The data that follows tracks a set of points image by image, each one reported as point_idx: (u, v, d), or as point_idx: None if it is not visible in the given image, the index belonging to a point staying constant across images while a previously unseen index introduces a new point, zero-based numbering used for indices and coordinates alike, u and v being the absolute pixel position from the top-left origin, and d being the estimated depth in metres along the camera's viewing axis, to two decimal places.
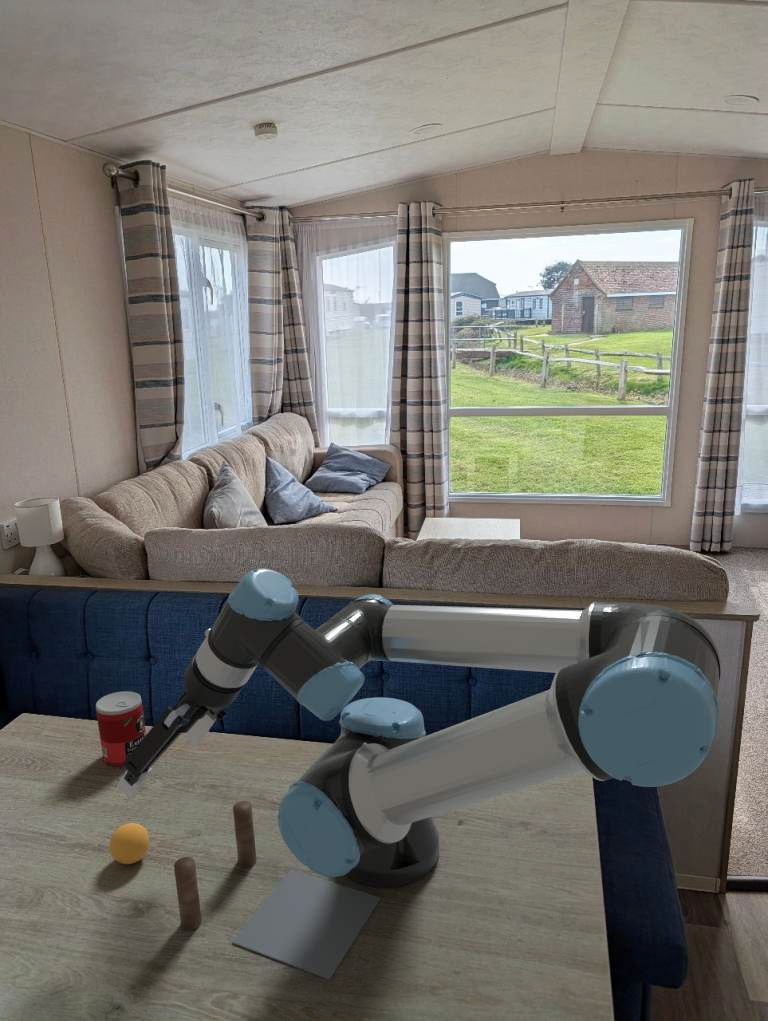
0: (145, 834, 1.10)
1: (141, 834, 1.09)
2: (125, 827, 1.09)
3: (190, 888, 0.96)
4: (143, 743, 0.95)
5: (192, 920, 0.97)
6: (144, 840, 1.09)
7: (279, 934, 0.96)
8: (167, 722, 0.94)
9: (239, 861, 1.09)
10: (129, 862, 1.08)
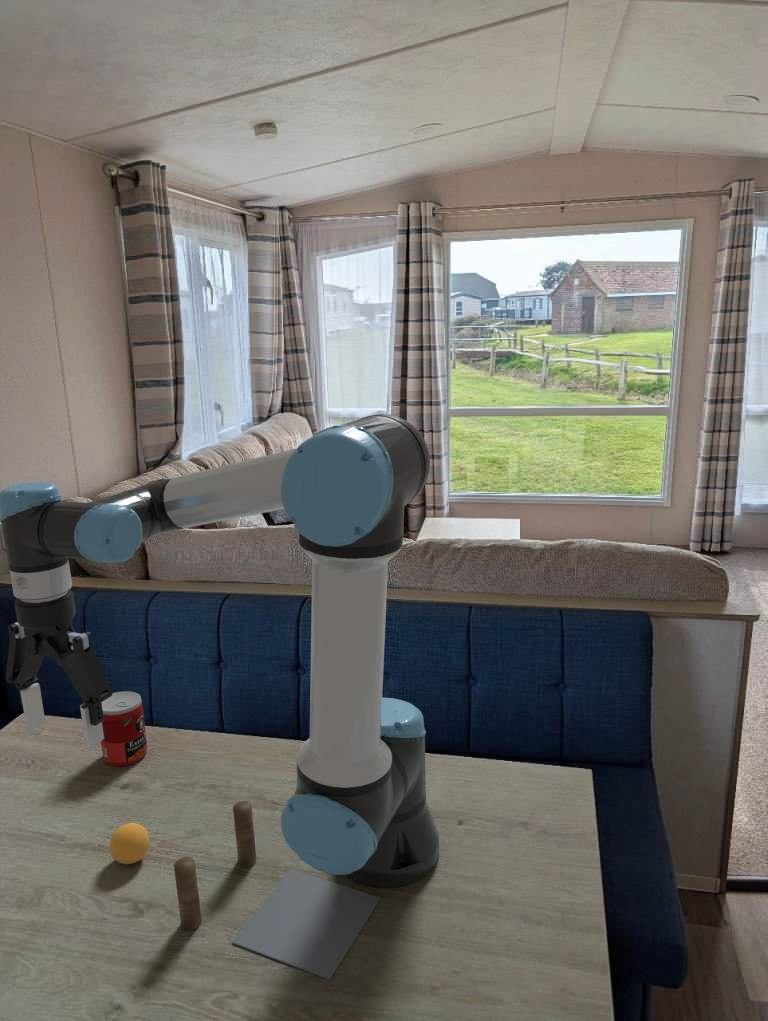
0: (145, 834, 1.10)
1: (141, 834, 1.09)
2: (125, 827, 1.09)
3: (190, 888, 0.96)
4: (91, 675, 1.04)
5: (192, 920, 0.97)
6: (144, 840, 1.09)
7: (279, 934, 0.96)
8: (86, 644, 1.04)
9: (239, 861, 1.09)
10: (129, 862, 1.08)
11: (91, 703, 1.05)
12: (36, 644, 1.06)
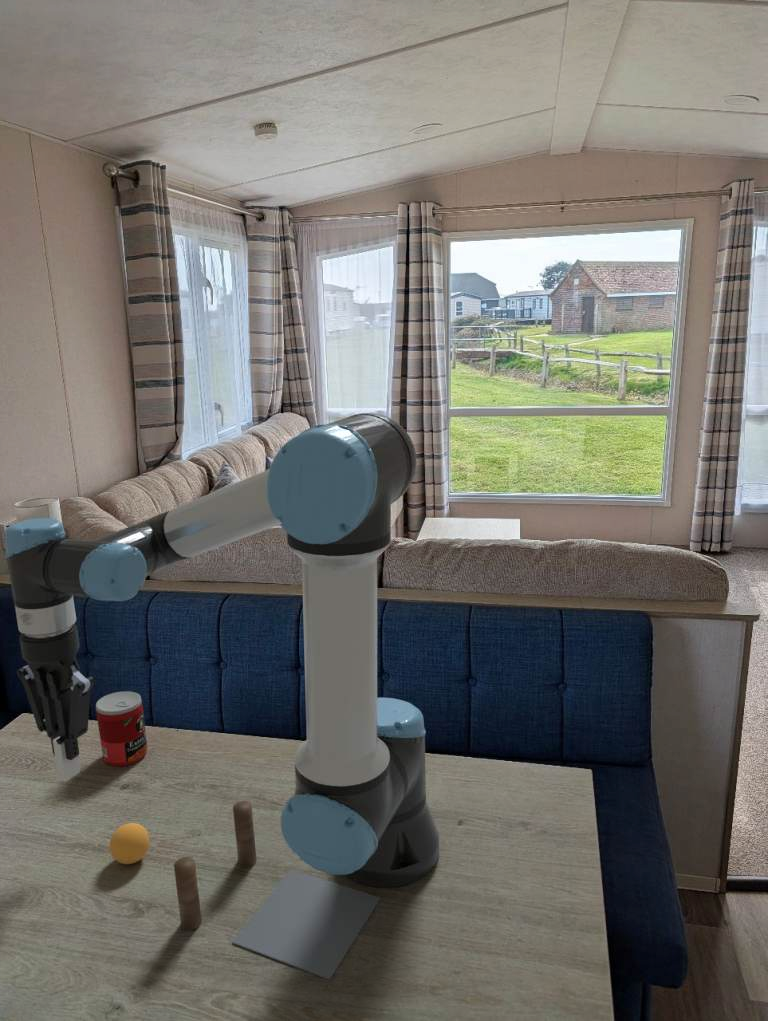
0: (145, 834, 1.10)
1: (141, 834, 1.09)
2: (125, 827, 1.09)
3: (190, 888, 0.96)
4: (78, 716, 1.07)
5: (192, 920, 0.97)
6: (144, 840, 1.09)
7: (279, 934, 0.96)
8: (85, 690, 1.06)
9: (239, 861, 1.09)
10: (129, 862, 1.08)
11: (66, 740, 1.09)
12: (42, 676, 1.07)
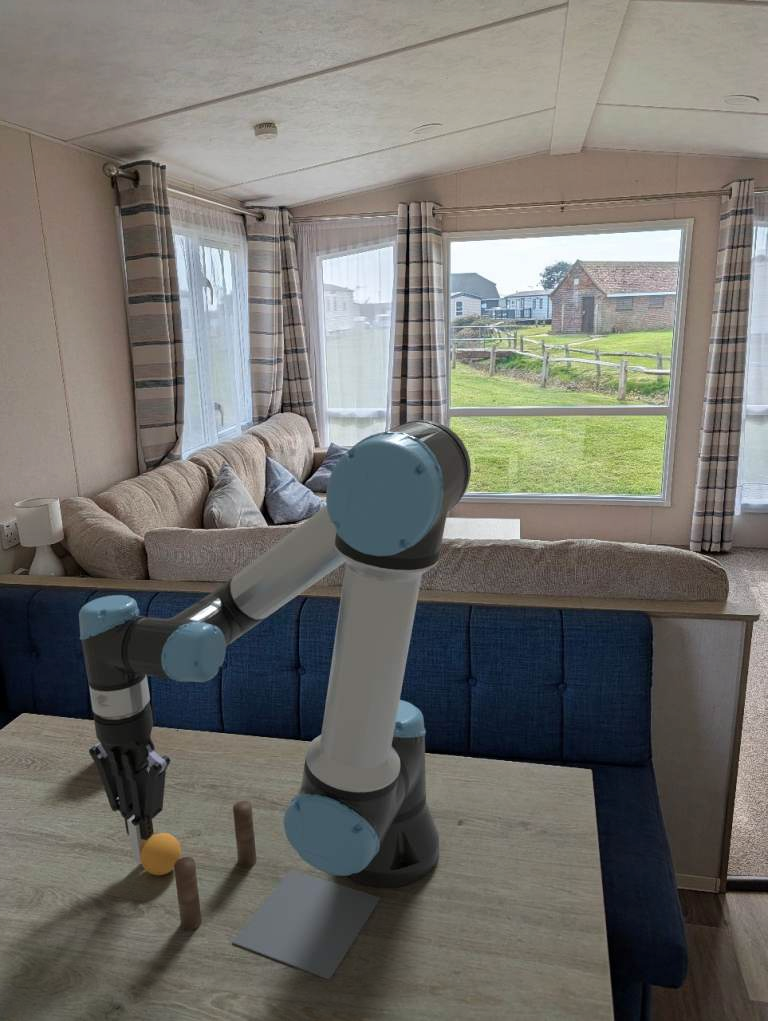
0: None
1: None
2: (173, 854, 1.06)
3: (190, 888, 0.96)
4: (154, 797, 1.04)
5: (192, 920, 0.97)
6: None
7: (279, 934, 0.96)
8: (161, 771, 1.03)
9: (239, 861, 1.09)
10: None
11: (141, 821, 1.06)
12: (116, 756, 1.04)
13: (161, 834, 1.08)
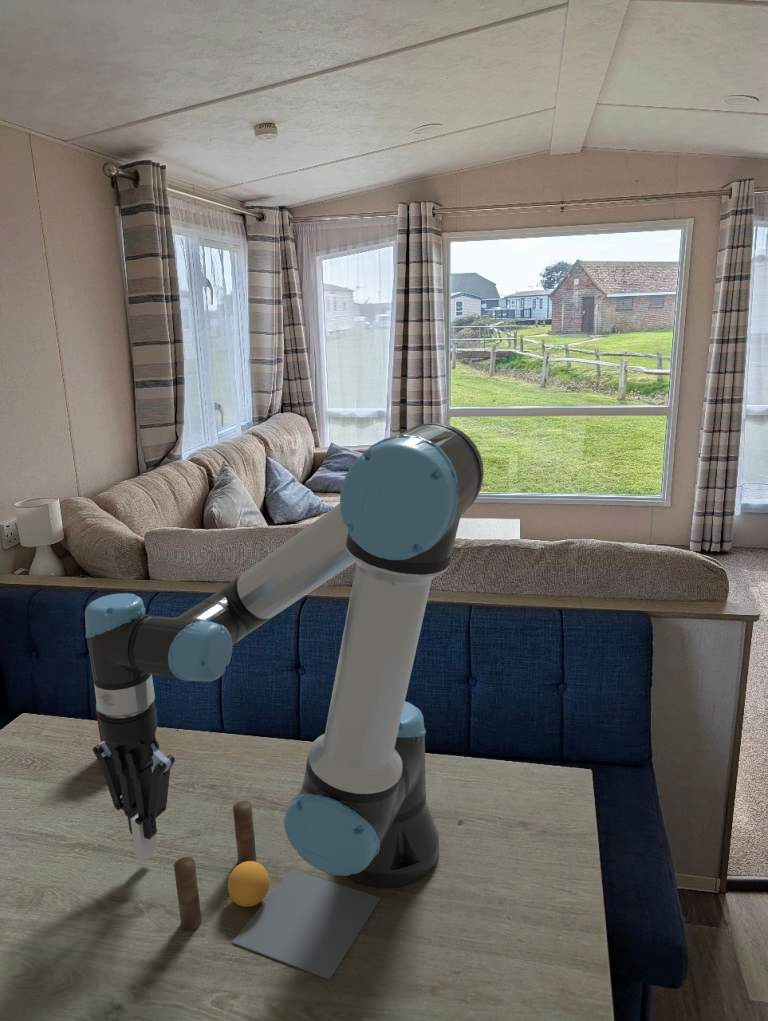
0: (268, 883, 1.01)
1: (267, 884, 1.00)
2: (254, 871, 1.00)
3: (190, 888, 0.96)
4: (158, 796, 1.04)
5: (192, 920, 0.97)
6: (267, 890, 1.01)
7: (279, 934, 0.96)
8: (166, 770, 1.03)
9: (239, 861, 1.09)
10: (244, 906, 1.00)
11: (145, 820, 1.06)
12: (120, 755, 1.04)
13: None
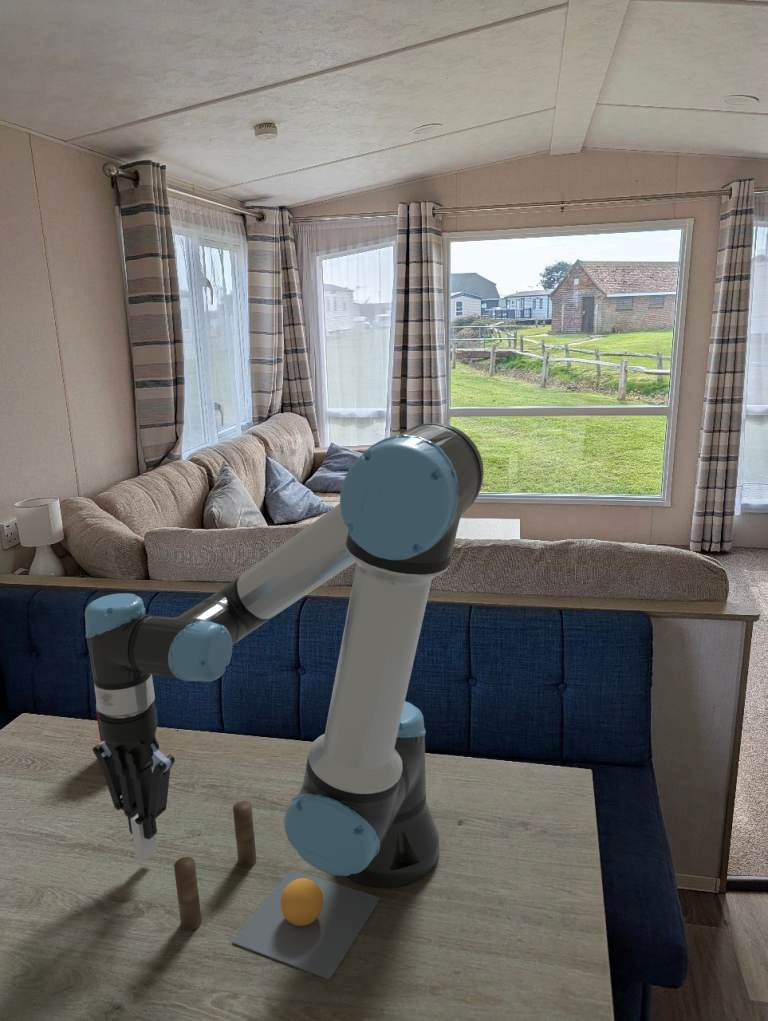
0: None
1: None
2: None
3: (190, 888, 0.96)
4: (158, 796, 1.04)
5: (192, 920, 0.97)
6: None
7: (279, 934, 0.96)
8: (166, 770, 1.03)
9: (239, 861, 1.09)
10: (289, 897, 0.96)
11: (145, 820, 1.06)
12: (120, 755, 1.04)
13: None
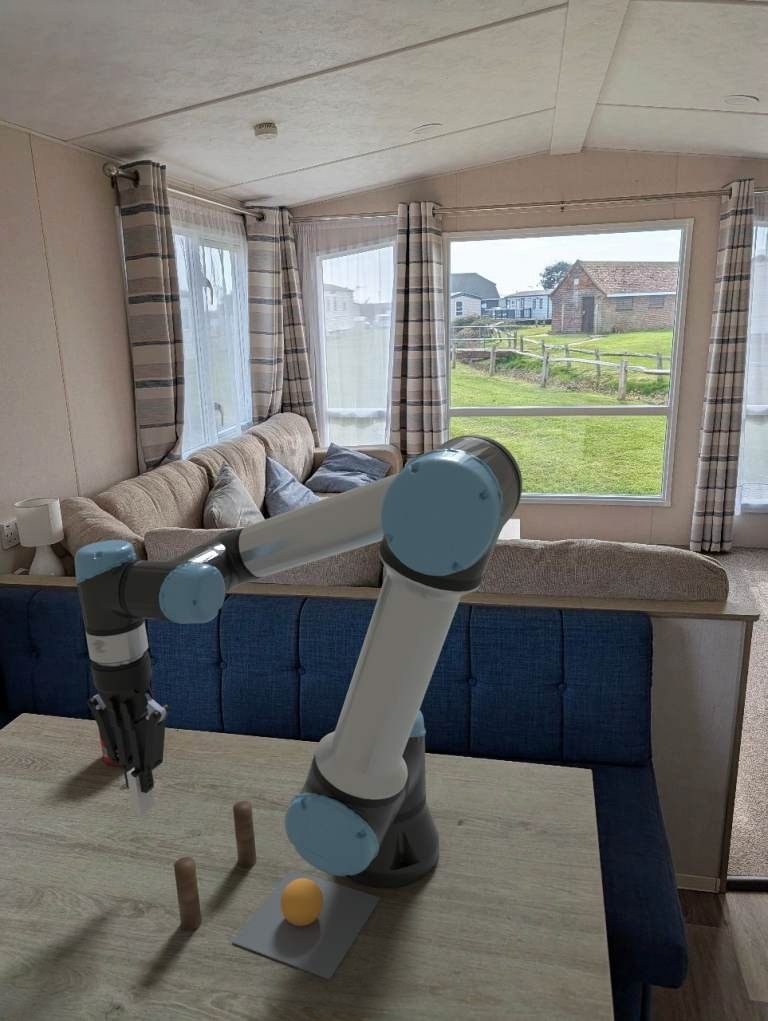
0: None
1: None
2: None
3: (190, 888, 0.96)
4: (154, 747, 1.02)
5: (192, 920, 0.97)
6: None
7: (279, 934, 0.96)
8: (161, 719, 1.01)
9: (239, 861, 1.09)
10: (289, 897, 0.96)
11: (141, 772, 1.04)
12: (114, 706, 1.02)
13: None
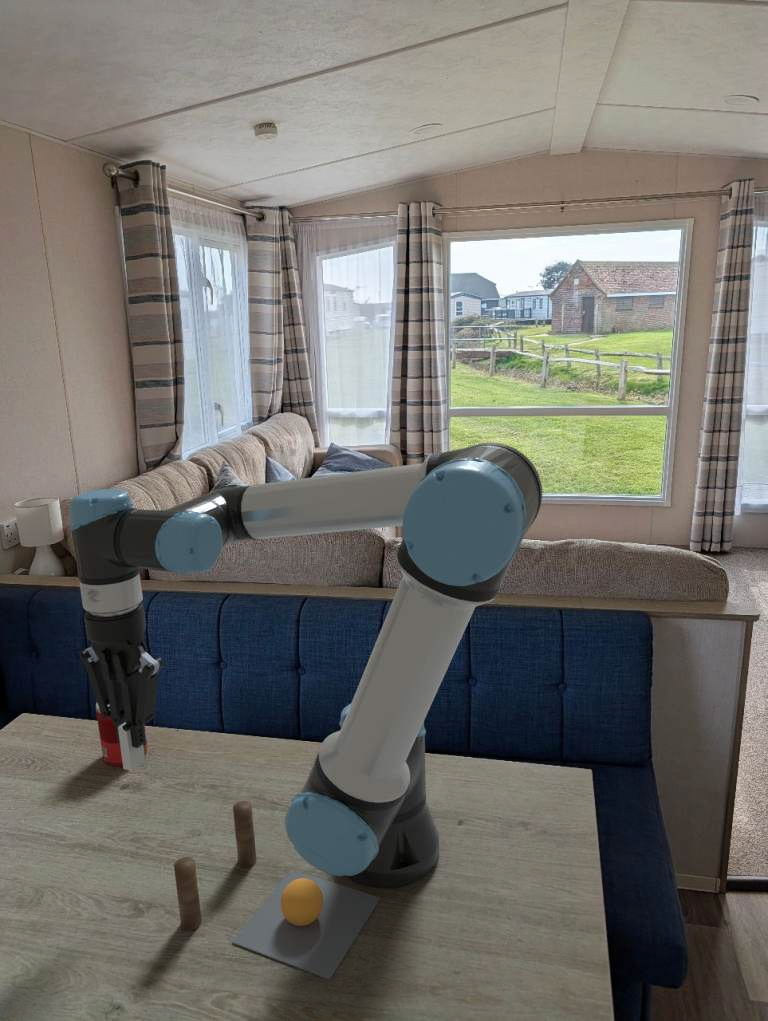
0: None
1: None
2: None
3: (190, 888, 0.96)
4: (146, 700, 1.00)
5: (192, 920, 0.97)
6: None
7: (279, 934, 0.96)
8: (154, 672, 0.99)
9: (239, 861, 1.09)
10: (289, 897, 0.96)
11: (133, 727, 1.02)
12: (107, 658, 1.00)
13: None
